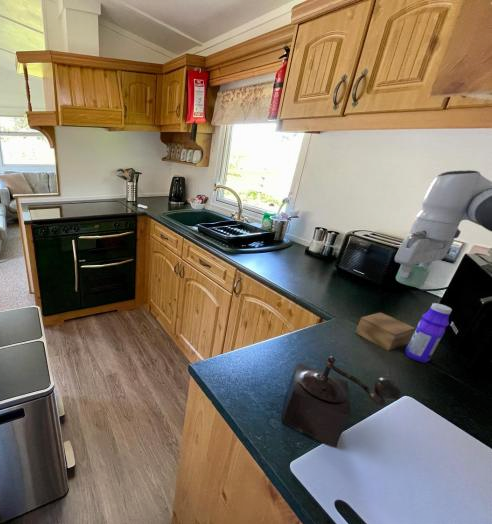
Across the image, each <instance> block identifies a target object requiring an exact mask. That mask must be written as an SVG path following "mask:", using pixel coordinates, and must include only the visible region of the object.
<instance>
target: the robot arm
mask: <svg viewBox="0 0 492 524" xmlns="http://www.w3.org/2000/svg"><path fill="white" fill-rule="evenodd" d="M463 221H469V222H471V223H474V224H475V225H478V226H481V227H483V228H484V229H486V230H487V231H489V232H491V233H492V180H490V179H488V178H487V177H485V176H484V175H482V174H481V172H480V171H478V170H469V169H468V170H451V171H445V172H441V173H440V174H438V175H437V176H436V177H435V178H434V179H433V180H432V182H431V184H430V186H429V187H428V189H427V191H426V194H425V195H424V198H423V200H422V206H421V209H420V211H419V212H418V213H417V214H416V216H415V219H414V220H413V224H412V225H411V228H410V230H409V234H411V235H408V236H406V237H405V238H404V239H403V241H402V242H401V244H400V246H399V247H398V250H397V252H396V254H395V256H394V262H395V263H396V264H397V263H398V264H400V265H401V264H402V272H401V274H400V276H401V277H404V278H408V277H410V275H411V273H412V272H411V269H412V267H413V266H414V265H418V266H421V267H424V268H427V269H429V267H430V266H431V265H432V263H433V262H436V261H442V260H443V259H444V258H445V257H446V255H447V254H448V252H449V251H450V249H451V247H452V246H453V243H454V242H455V239H457V238H459V236H460V234H461V232H462V231H461V230H460V229H459V226H460V224H461V222H463Z"/></svg>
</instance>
